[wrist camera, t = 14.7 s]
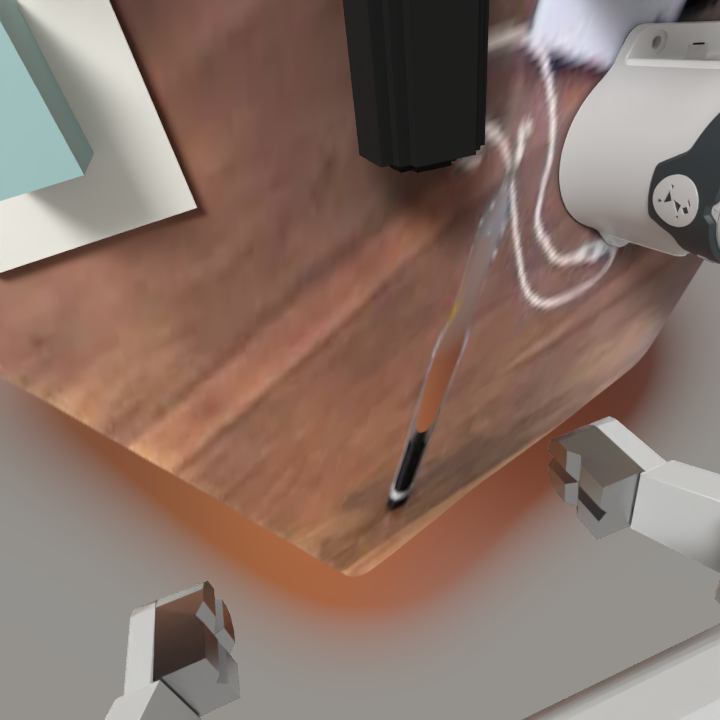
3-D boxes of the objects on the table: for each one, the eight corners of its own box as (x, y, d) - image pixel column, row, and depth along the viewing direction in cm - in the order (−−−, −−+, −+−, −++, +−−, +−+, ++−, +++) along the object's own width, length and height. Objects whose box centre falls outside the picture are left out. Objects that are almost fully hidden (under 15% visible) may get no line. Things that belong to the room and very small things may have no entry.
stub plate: (44, -154, 24) (30, -179, 21) (195, 203, 35) (200, 218, 32) (-279, -89, 22) (-341, -107, 19) (-10, 271, 33) (-25, 293, 30)
